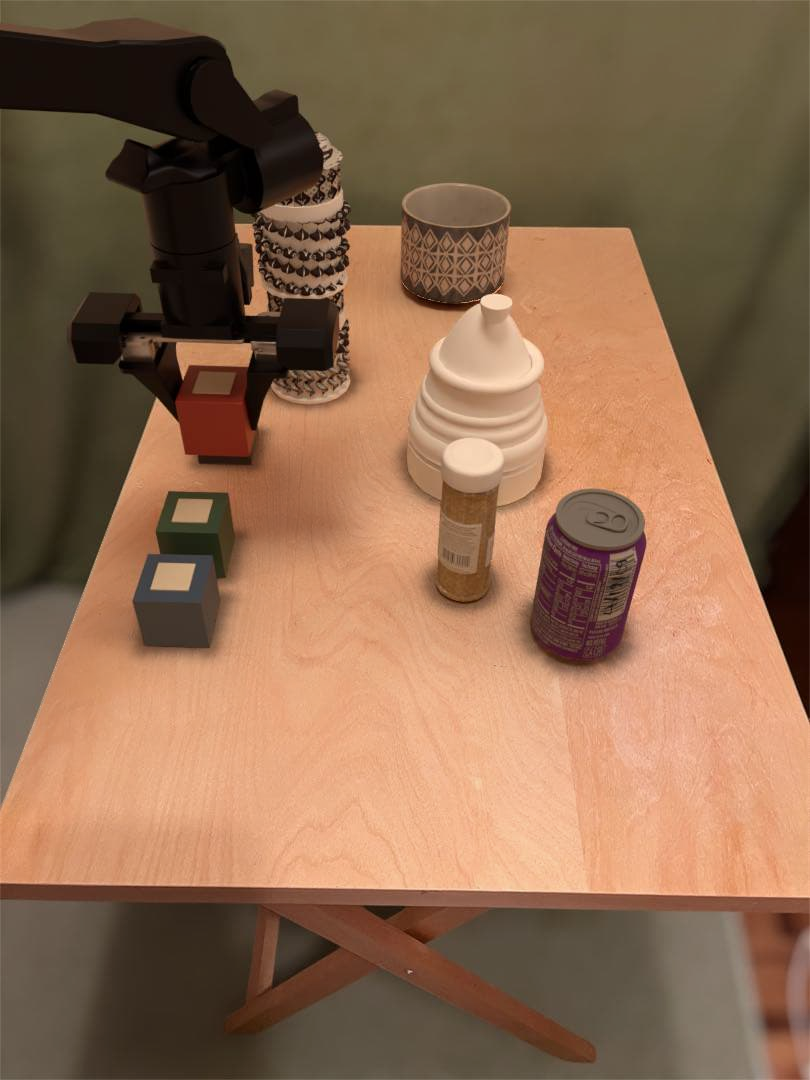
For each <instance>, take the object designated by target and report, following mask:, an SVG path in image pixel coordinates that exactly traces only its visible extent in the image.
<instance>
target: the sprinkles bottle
mask: <svg viewBox="0 0 810 1080" xmlns="http://www.w3.org/2000/svg"><path fill="white" fill-rule="evenodd" d="M503 470H504V455H503V453H502V451H501V450H500V449H499V447H498V446H496V445H495V444H493V443H492V442H489V441H487V440H484V439H479V438H463V439H459V440H456V441H454V442H452V443H450V444H449V445H448V446H447V447H446V448H445V449H444V451H443V454H442V462H441V476H442V479H443V484H442V499H441V501H440V505H439V522H438V524H439V526H438V539H437V542H438V543H437V569H436V570H437V571H436V574H435V585H436V588H437V589H438V591H439V592H440V593H441V595H443V596H444V597H446V598H448V599H450V600H453V601H457V602H464V603H467V602H472V601H477V600H479V599H481V598H482V597H483V596H485V595H486V594H487V592H488V590H489V588H490V586H491V575H490V573H491V564H492V560H493V554H494V545H495V544H494V543H495V535H496V522H497V521H496V519H497V518H496V517H497V507H498V506H497V500H498V489H499V484H500V482H501V480H502V478H503Z"/></svg>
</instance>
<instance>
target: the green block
mask: <svg viewBox="0 0 810 1080" xmlns="http://www.w3.org/2000/svg"><path fill="white" fill-rule="evenodd" d="M154 533H155V537H156V541H157V547H158V550H159V551H158V552H159V554H178V555H212V556H213V560H214V566H215V572H216V578H217V579H225V578H226V577H227V573H228V569H229V565H230V561H231V556H232V551H233V548H234V543H235V538H236V535H235V534H236V533H235V527H234V519H233V514H232V506H231V499H230V493H229V492H222V491H221V492H218V491H211V492H210V491H186V490H185V491H183V490H182V491H181V490H168V491H167V494H166V497H165V500H164V503H163V506H162V509H161V511H160V515H159V518H158V521H157V524H156V528H155V530H154ZM226 579H227V578H226Z"/></svg>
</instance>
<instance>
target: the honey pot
mask: <svg viewBox="0 0 810 1080" xmlns="http://www.w3.org/2000/svg"><path fill="white" fill-rule="evenodd" d="M479 302H480V303H477V304H475V305H474V306H471V307H470V308H469V309H467V310H466V311H465V312H464V313H463V314H462V315H461V316H460V317H459V318H458V320H457V321H456V322H455V323H454V324H453V326H452V328H451V329H450V331H449V332H448V334H446V335H445V336H443V337H442V338H440V339H439V340H437V341H436V343H435V344H434V345H433V346H432V347H431V349H430V352H429V355H428V364H429V369H428V371H427V372H426V374H425V375H424V376H423V378H422V381H421V384H420V387H419V390H418V392H417V396H416V398H415V400H414V401H413V403H412V405H411V407H410V411H409V413H408V418H407V422H408V426H407V439H406V440H407V441H406V442H407V445H406V465H407V472H408V474H409V476H410V477H411V479H412V481H413V483H414V484H415V485H417V487H418V488H420V490H421V491H423V492H424V493H425V494H427V495H429V496H431V497H432V498H434V499H436V500H438V501H440V502H441V499H442V484H443V479H442V476H441V462H442V454H443V451H444V449H445V448H446V447H447V446H448V445H449V444H450V443H452V442H454V441H456V440H459V439H463V438H479V439H484V440H487V441H489V442H492V443H493V444H495V445H496V446H498V447H499V449H500V450H501V451H502V453H503V455H504V470H503V478H502V480H501V482H500V484H499V489H498V500H497V507H501V506H506V505H511V504H513V503H515V502H517V501H519V500H521V499H524V498H525V497H526V496H527V495H529V494H530V493H531V492H533V491H534V490H535V489H536V487H537V485H538V484H539V482H540V480H541V478H542V472H543V465H544V458H545V454H546V447H547V446H546V445H547V439H548V432H549V419H548V416H547V414H546V410H545V405H544V401H543V398H542V393H543V392H542V391H543V390H542V388H541V386H540V382H539V380H540V378H541V377H542V375H543V373H544V369H545V359H544V357H543V354H542V352H541V350H540V349H539V348H538V347H537V346H536V345H535V344H534V343H533V342H531V341H530V340H528V339H527V338H525V337H523V335H522V333H521V331H520V329H519V327H518V325H517V324H516V322H515V320H514V319H513V318H512V316H511V315H510V314H511V311H512V308H513V300H512V299H511V297H509V296H507V295H504V294H500V293H496V294H489V295H486V296H484V297H482V298H481V301H479Z"/></svg>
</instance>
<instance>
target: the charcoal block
mask: <svg viewBox="0 0 810 1080" xmlns="http://www.w3.org/2000/svg"><path fill="white" fill-rule="evenodd" d="M259 435H260V434H259V425H258V426H257V430H256V432H255V436H254V440H253V443H252V447H251V451H250V455H249V457H238V456H207V455H197V460H198V464H200V465H204V464H205V465H206V464H207V465H234V466H235V465H236V466H237V465H238V466H239V465H240V466H241V465H242V466H252V464H253V461H254V460H253V459H254V456H255V452H256V448H257V444H258V438H259Z"/></svg>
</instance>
